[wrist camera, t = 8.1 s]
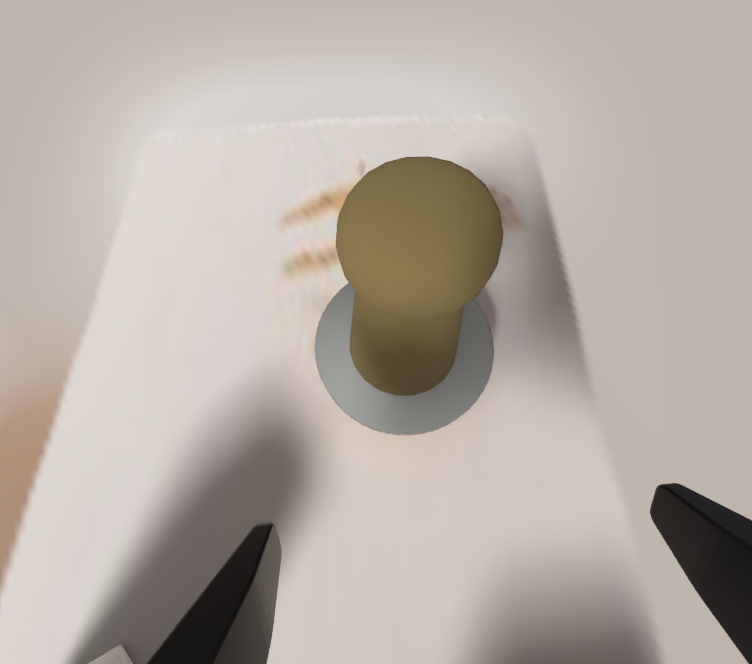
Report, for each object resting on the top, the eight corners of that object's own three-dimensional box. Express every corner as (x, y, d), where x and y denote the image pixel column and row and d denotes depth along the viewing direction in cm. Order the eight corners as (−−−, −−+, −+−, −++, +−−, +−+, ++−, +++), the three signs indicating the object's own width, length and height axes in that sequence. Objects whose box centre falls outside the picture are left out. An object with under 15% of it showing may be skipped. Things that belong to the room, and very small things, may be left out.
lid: (493, 443, 19) (497, 441, 18) (304, 426, 19) (301, 424, 18) (486, 278, 22) (490, 271, 22) (329, 268, 23) (328, 261, 22)
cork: (342, 303, 21) (304, 137, 11) (443, 288, 21) (497, 112, 11) (357, 404, 19) (325, 314, 9) (469, 386, 19) (568, 276, 9)
